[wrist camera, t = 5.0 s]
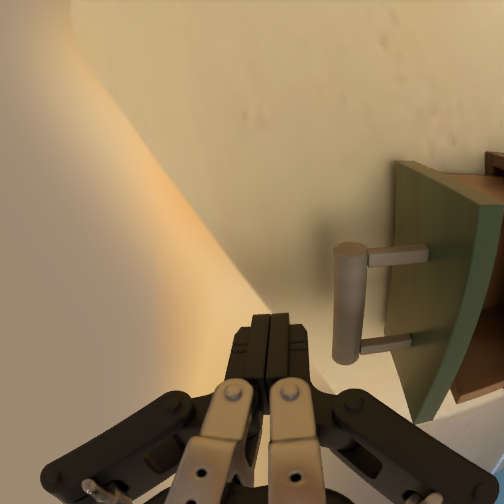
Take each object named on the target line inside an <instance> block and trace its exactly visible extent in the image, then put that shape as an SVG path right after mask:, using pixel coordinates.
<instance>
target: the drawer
mask: <svg viewBox="0 0 504 504" xmlns="http://www.w3.org/2000/svg"><path fill="white" fill-rule="evenodd" d="M395 185H396V191H395V230H394V247H383V248H372V249H367V247H366V246H365V245H363V244H360V243H356V242H345V243H341V244H338V245H337V246H335V248H334V314H333V345H332V358H333V360H334V361H335V362H336V363H338V364H341V365H350V364H353V363H354V362H356V361H357V359H358V358H359V352H360V355H365V354H372V353H379V352H386V351H391V354H392V357H393V360H394V363H395V366H396V369H397V372H398V375H399V378H400V382H401V385H402V388H403V391H404V394H405V398H406V401H407V404H408V408H409V411H410V415H411V419H412V422H413V424H414V425H416V424H420V423H424V422H428V421H432V420H433V418H434V417H435V415H436V413H437V411H438V410H439V408H440V406H441V404H442V402H443V400H444V398H445V396H446V395H447V393H448V391H449V389H450V390H451V392H452V395H453V397H454V400H455V402H456V404H459V403H462V402H465V401H468V400H471V399H474V398H477V397H480V396H483V395H486V394H488V393H491V392H494V391H496V390H499V389H501V388H504V176H490V175H445V174H443V173H441V172H438V171H436V170H434V169H432V168H429V167H427V166H425V165H422V164H420V163H418V162H415V161H395ZM367 265H368V267H369V268H372V267H382V266H392V271H391V281H390V290H389V298H388V306H387V313H386V319H385V326H384V335H385V336H384V337H377V338H370V339H361V336H362V327H363V317H364V306H365V294H366V279H367Z"/></svg>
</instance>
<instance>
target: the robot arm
mask: <svg viewBox="0 0 504 504" xmlns="http://www.w3.org/2000/svg"><path fill="white" fill-rule="evenodd" d="M263 415H270V442H269V445H268V446H269V447H268V485H266V486H260V487H254V468H255V464H256V459H257V455H258V450H259V445H260V440H261V435H262V424H263ZM320 446H322V447H327V448H329V449H330V450H331V452H332V453H333V454H335V455H336V456H337V457H338V458H339V459H340V460H342V461H343V462H344V463H345V464H346V465H347V466H348V467H349V468H351V469H352V470H353V471H354V472H355V473H357V474H358V475H359V476H360V477H361V478H363V479H364V480H365V481H366V482H367V483H369V484H370V485H371V486H372V487H374V488H375V489H376V490H377V491H379V492H380V493H381V494H382V495H384V496H385V497H386V498H388V499H389V500H390V501H391V502H393V503H394V504H494V503H495V501H496V499H497V497H498V494H499V483H498V481H497V479H496V477H494V476H493V475H492V474H490V473H489V472H487V471H485V470H484V469H482V468H480V467H479V466H477V465H476V464H474V463H472V462H471V461H469V460H467V459H466V458H464V457H463V456H461V455H460V454H458V453H456V452H455V451H453V450H452V449H450V448H449V447H447V446H446V445H444V444H442V443H441V442H439V441H438V440H436V439H435V438H433V437H432V436H430V435H429V434H427V433H426V432H424V431H423V430H421V429H420V428H418V427H417V426H415V425H414V424H412V423H411V422H409V421H408V420H407V419H405V418H404V417H402V416H401V415H399V414H398V413H396V412H395V411H394V410H392V409H391V408H389V407H388V406H386V405H385V404H384V403H382V402H381V401H379V400H378V399H376V398H375V397H374V396H372V395H371V394H369V393H368V392H366V391H364V390H361V389H348V390H345V391H342V392H341V393H339V394H338V395H333V394H327V393H323V392H321V391H319V390H317V389H316V388H315V387H314V386H313V385H312V383H311V381H310V371H309V352H308V336H307V331H306V329H305V328H304V326H303V325H302V324H292V325H290V321H289V313H276V314H258V315H253V317H252V323H251V327H241V328H240V329H239V331H238V332H237V333H236V334H235V336H234V340H233V346H232V349H231V354H230V358H229V362H228V366H227V371H226V375H225V379H224V381H223V382H222V383H220V384H219V385H218V386H217V387H216V389H215V391H214V392H213V393H211V394H209V395H205V396H200V397H196V398H191V397H190V396H189V395H188V394H187V393H185V392H182V391H170V392H167V393H165V394H163V395H162V396H160V397H159V398H157V399H156V400H154V401H153V402H151V403H150V404H148V405H147V406H145V407H144V408H142V409H140V410H139V411H137V412H136V413H134V414H133V415H131V416H129V417H128V418H126V419H125V420H123V421H121V422H120V423H118V424H117V425H115V426H114V427H112V428H110V429H109V430H107V431H105V432H104V433H102V434H100V435H99V436H97V437H95V438H93V439H92V440H90V441H88V442H87V443H85V444H83V445H81V446H80V447H78V448H76V449H75V450H73V451H71V452H69V453H67V454H66V455H64V456H62V457H60V458H58V459H56V460H55V461H53V462H51V463H49V464H47V465H46V466H45V467H44V468H43V470H42V472H41V475H40V481H41V484H42V486H43V488H44V489H45V490H46V491H47V492H49V493H50V494H52V495H53V496H55V497H57V498H58V499H59V500H60V501H61V502H63V504H132V501H133V500H135V499H136V498H138V497H140V496H141V495H143V494H144V493H146V492H148V491H149V490H151V489H152V488H154V487H155V486H157V485H158V484H160V483H161V482H163V481H164V480H166V479H167V478H169V477H170V476H172V475H173V474H175V473H176V474H175V477H174V480H173V482H172V485H171V487H168V488H166V489H164V490H163V491H161V492H160V493H158V494H157V495H155V496H154V497H153V498H151V499H150V500H148V501H147V502H145V503H144V504H354V503H353V502H352V501H351V500H350V499H349V498H347V497H346V496H344V495H342V494H341V493H339V492H336V491H334V490H331V489H327V488H325V485H324V476H323V467H322V459H321V451H320ZM253 487H254V488H253Z"/></svg>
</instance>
